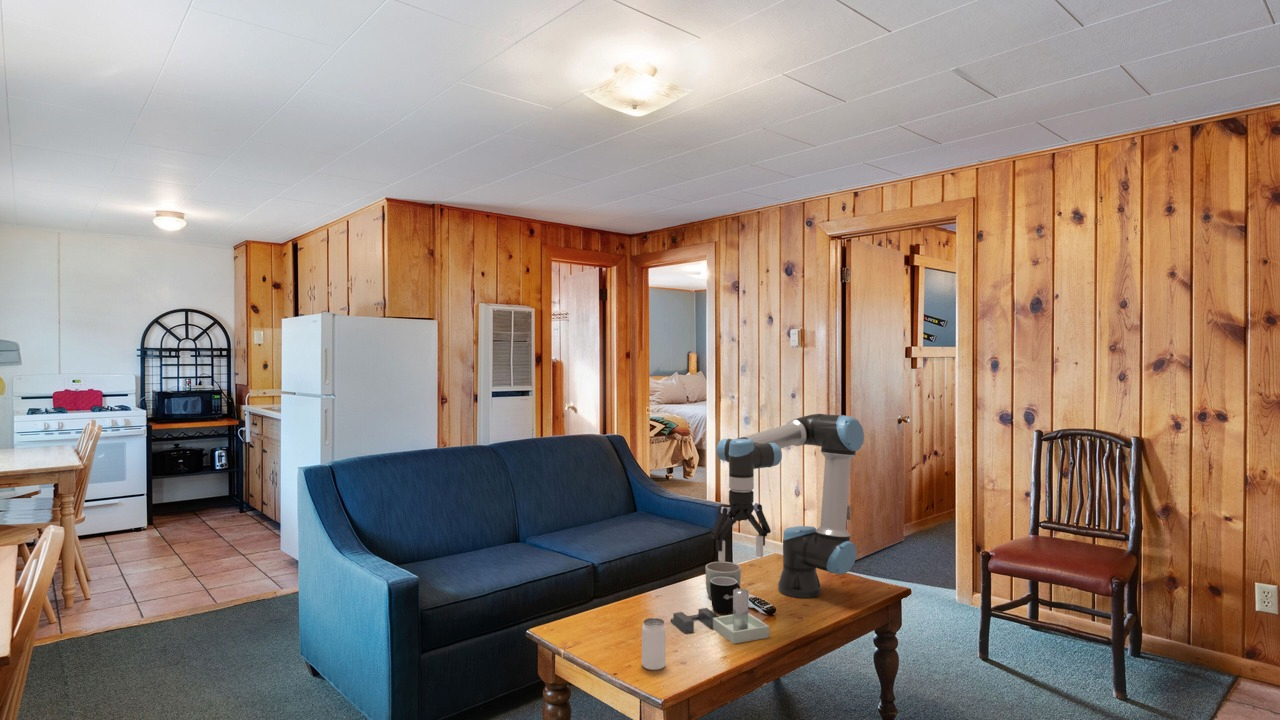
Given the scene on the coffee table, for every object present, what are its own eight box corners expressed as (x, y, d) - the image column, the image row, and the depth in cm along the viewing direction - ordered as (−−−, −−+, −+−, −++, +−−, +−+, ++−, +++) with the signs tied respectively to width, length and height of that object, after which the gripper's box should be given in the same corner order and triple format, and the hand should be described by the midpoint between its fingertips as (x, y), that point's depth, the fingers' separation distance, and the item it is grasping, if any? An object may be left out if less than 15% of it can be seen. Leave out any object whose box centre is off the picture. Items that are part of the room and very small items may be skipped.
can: (651, 673, 183) (651, 628, 183) (637, 664, 188) (637, 620, 188) (670, 666, 187) (670, 622, 187) (655, 658, 192) (656, 615, 192)
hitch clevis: (703, 616, 223) (703, 605, 223) (719, 627, 214) (719, 616, 214) (670, 622, 219) (670, 611, 219) (685, 633, 210) (685, 622, 209)
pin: (750, 631, 209) (751, 592, 209) (738, 634, 207) (738, 594, 207) (742, 626, 214) (743, 587, 213) (730, 628, 212) (730, 589, 212)
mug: (721, 618, 222) (722, 586, 222) (704, 609, 230) (704, 579, 230) (749, 610, 229) (749, 580, 229) (731, 602, 236) (731, 573, 236)
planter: (740, 605, 234) (740, 573, 234) (703, 602, 236) (704, 571, 236) (741, 592, 246) (741, 562, 246) (706, 590, 249) (707, 560, 249)
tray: (746, 622, 219) (746, 612, 219) (769, 637, 207) (769, 626, 207) (712, 628, 214) (712, 617, 214) (733, 643, 202) (733, 632, 202)
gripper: (768, 484, 219) (767, 551, 219) (699, 490, 209) (699, 560, 209) (782, 489, 212) (781, 557, 212) (711, 495, 202) (711, 567, 202)
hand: (740, 559), depth 211 cm, fingers open, 13 cm apart
